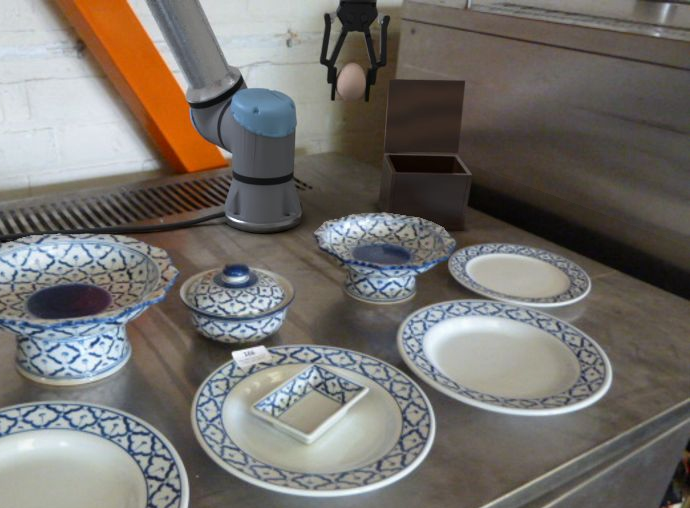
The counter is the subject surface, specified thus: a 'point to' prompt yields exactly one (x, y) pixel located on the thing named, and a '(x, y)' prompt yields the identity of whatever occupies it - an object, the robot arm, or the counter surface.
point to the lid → (424, 115)
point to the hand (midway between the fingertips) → (349, 99)
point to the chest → (426, 188)
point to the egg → (351, 82)
